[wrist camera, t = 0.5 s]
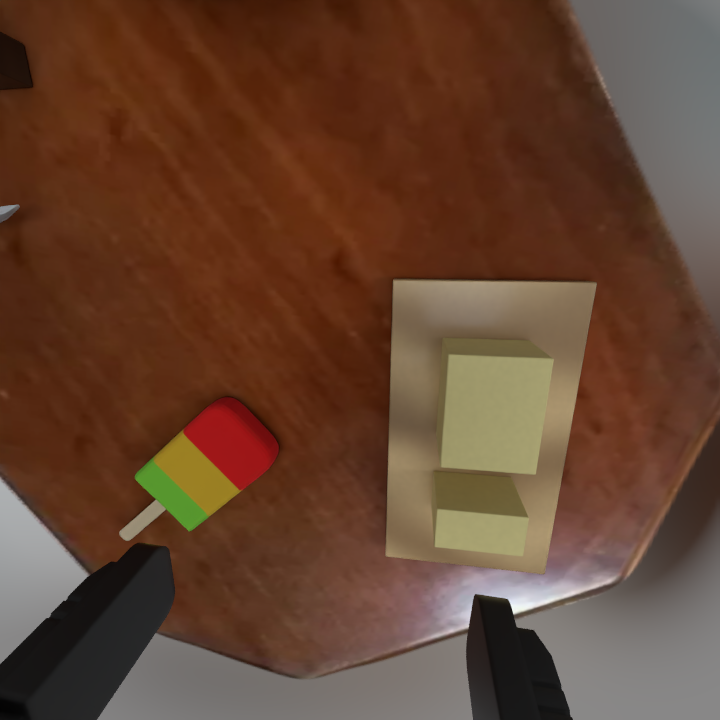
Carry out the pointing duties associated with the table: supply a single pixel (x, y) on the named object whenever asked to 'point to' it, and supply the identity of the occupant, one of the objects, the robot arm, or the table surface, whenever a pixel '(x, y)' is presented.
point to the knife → (7, 211)
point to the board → (421, 392)
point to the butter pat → (478, 513)
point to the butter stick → (492, 404)
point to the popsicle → (205, 465)
